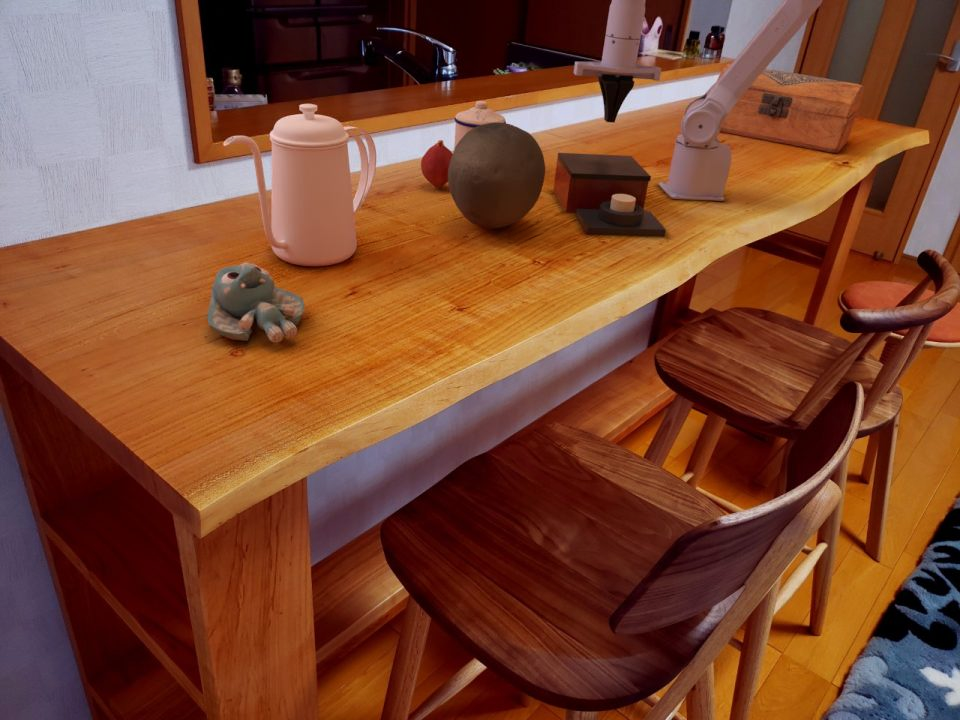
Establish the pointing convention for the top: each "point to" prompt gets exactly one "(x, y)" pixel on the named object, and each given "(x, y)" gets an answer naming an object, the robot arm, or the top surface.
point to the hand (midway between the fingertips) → (609, 121)
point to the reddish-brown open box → (593, 190)
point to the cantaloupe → (496, 174)
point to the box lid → (603, 167)
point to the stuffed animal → (252, 304)
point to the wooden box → (796, 110)
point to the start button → (623, 203)
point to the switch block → (619, 222)
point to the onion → (436, 164)
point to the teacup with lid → (474, 119)
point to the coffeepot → (312, 187)
